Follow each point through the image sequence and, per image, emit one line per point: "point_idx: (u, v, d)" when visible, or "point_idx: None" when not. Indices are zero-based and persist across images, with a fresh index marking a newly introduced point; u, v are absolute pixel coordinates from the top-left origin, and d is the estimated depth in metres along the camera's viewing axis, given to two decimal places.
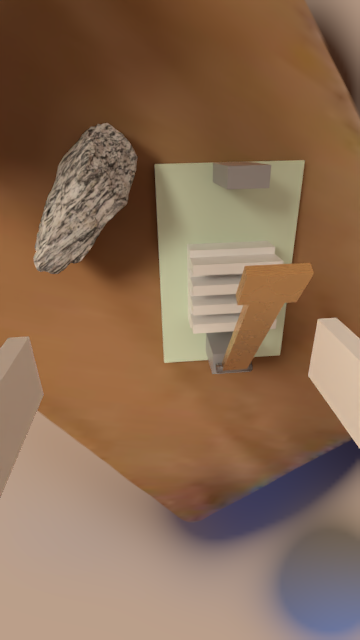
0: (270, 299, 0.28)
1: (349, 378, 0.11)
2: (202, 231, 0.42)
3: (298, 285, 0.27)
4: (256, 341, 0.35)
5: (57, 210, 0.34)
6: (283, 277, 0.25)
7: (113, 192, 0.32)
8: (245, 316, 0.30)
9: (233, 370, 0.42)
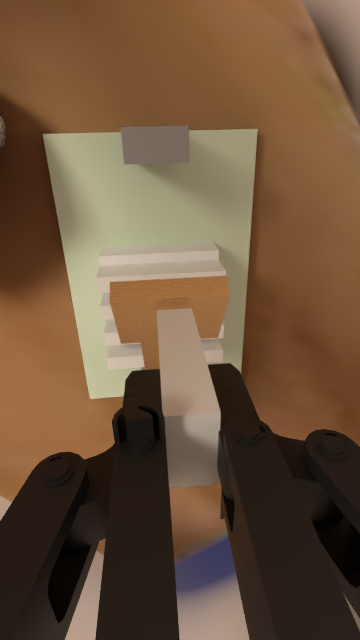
0: None
1: None
2: (122, 229, 0.31)
3: (210, 313, 0.16)
4: None
5: None
6: (177, 301, 0.15)
7: None
8: (144, 358, 0.19)
9: None
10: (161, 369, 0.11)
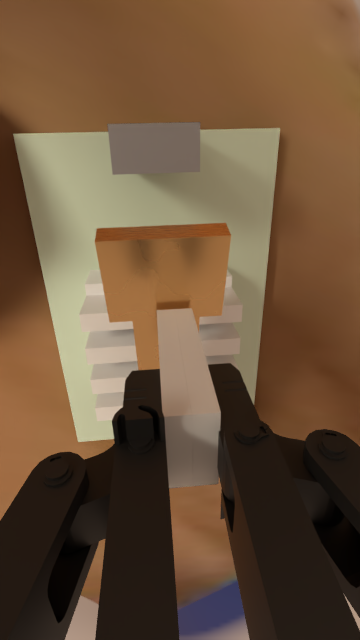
0: (169, 307, 0.15)
1: None
2: None
3: (210, 269, 0.14)
4: None
5: None
6: (172, 245, 0.13)
7: None
8: (138, 351, 0.17)
9: None
10: (161, 369, 0.11)
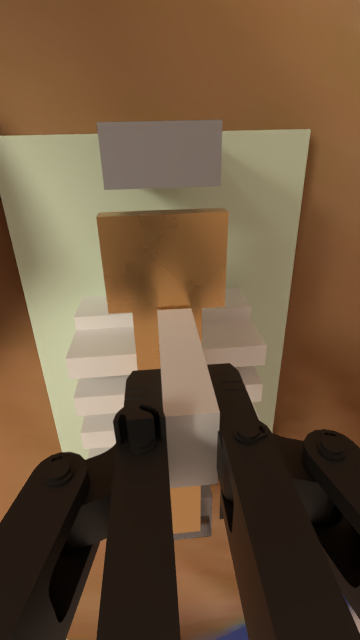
0: (170, 295, 0.15)
1: None
2: None
3: (210, 250, 0.14)
4: None
5: None
6: (171, 222, 0.13)
7: None
8: (138, 352, 0.16)
9: (174, 535, 0.22)
10: (162, 369, 0.11)
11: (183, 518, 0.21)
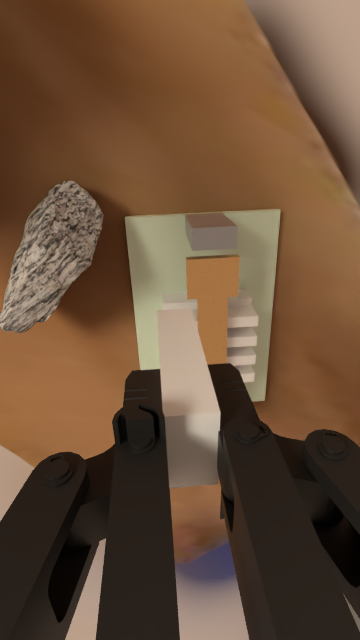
0: (214, 291, 0.34)
1: None
2: (177, 281, 0.41)
3: (232, 272, 0.33)
4: (220, 362, 0.37)
5: (20, 271, 0.33)
6: (216, 261, 0.32)
7: (76, 255, 0.31)
8: (199, 317, 0.35)
9: None
10: (161, 369, 0.11)
11: None
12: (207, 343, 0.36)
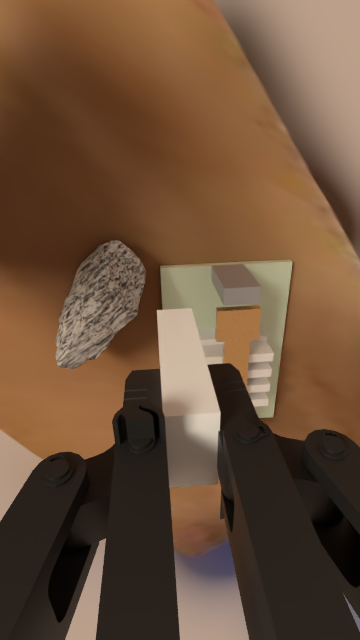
0: (239, 335, 0.40)
1: None
2: (202, 319, 0.47)
3: (254, 320, 0.40)
4: None
5: (77, 319, 0.39)
6: (242, 312, 0.39)
7: (126, 307, 0.38)
8: (225, 356, 0.41)
9: None
10: (161, 369, 0.11)
11: None
12: None
